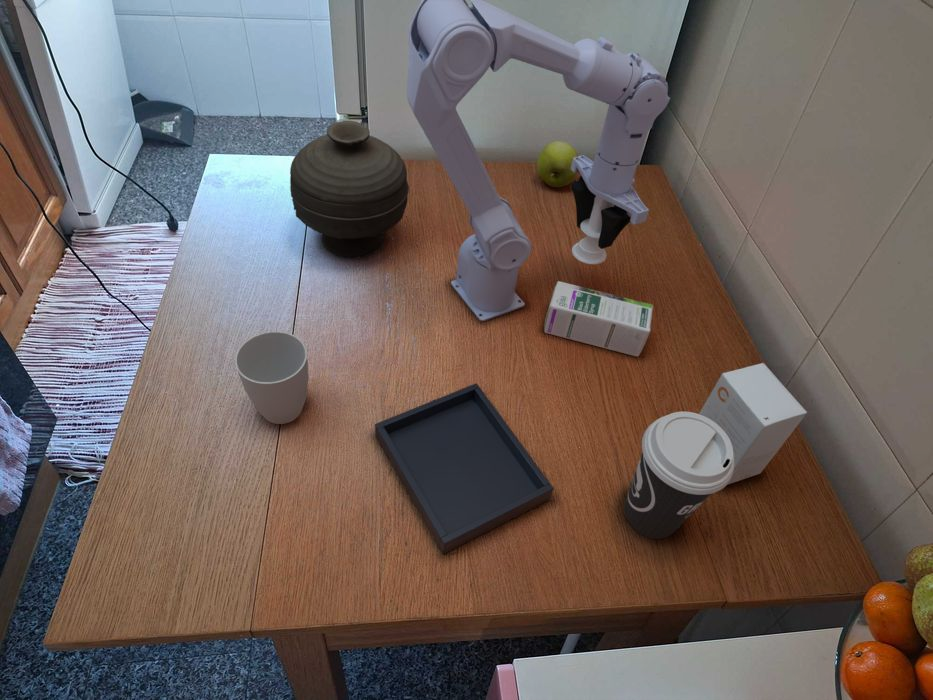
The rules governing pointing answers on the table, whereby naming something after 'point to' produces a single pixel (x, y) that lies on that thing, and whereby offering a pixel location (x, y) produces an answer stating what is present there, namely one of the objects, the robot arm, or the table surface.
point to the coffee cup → (677, 472)
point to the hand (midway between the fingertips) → (594, 235)
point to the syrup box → (598, 318)
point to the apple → (556, 164)
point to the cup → (274, 374)
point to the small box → (753, 416)
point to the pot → (349, 189)
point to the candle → (592, 235)
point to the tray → (462, 466)
